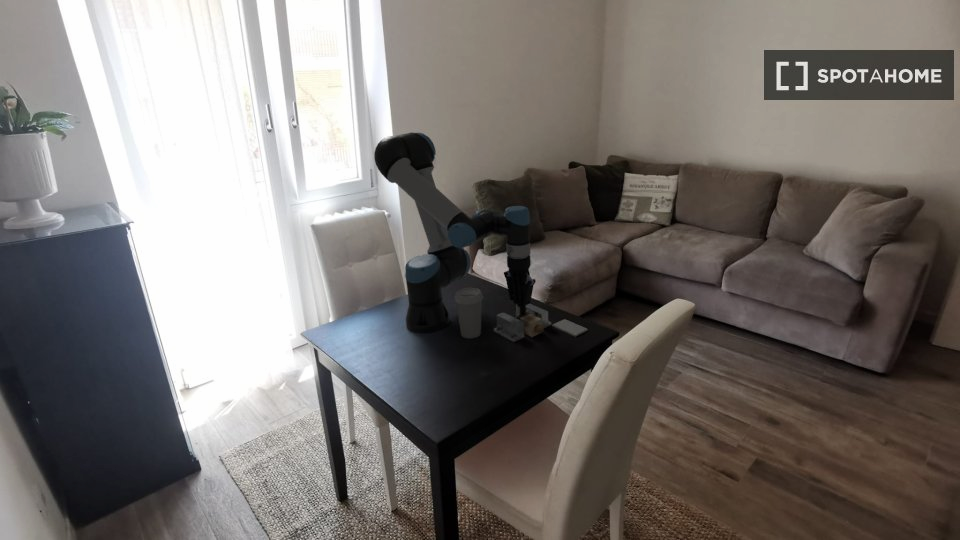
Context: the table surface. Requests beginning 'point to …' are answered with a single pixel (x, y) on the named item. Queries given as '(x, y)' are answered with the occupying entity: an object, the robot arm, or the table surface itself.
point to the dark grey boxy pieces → (518, 323)
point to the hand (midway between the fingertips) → (520, 321)
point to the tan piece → (531, 324)
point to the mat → (570, 327)
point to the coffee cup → (469, 311)
